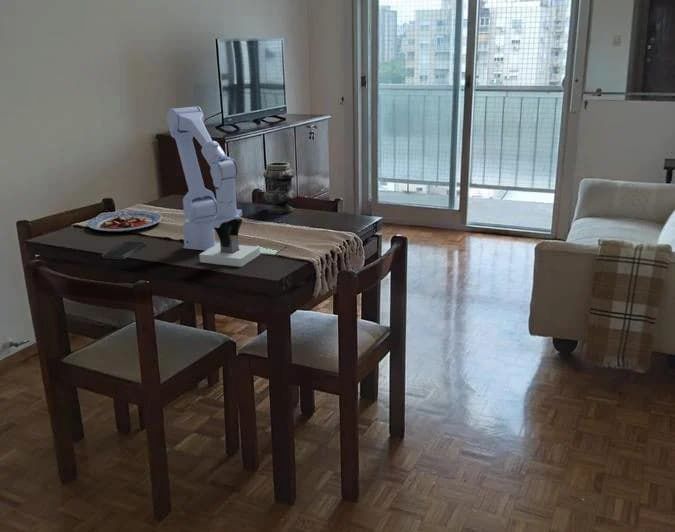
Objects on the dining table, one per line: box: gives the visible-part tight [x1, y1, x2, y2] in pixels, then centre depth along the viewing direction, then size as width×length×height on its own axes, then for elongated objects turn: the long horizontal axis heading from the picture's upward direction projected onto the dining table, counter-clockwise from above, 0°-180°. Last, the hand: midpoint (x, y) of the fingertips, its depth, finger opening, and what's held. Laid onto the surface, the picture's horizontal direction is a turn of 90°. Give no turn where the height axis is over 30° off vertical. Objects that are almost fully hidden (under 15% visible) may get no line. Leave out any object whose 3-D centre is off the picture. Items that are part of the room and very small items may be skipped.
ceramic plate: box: [86, 210, 163, 233], centre depth 250 cm, size 26×26×3 cm
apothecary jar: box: [262, 161, 296, 214], centre depth 264 cm, size 12×12×18 cm
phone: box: [101, 241, 147, 260], centre depth 221 cm, size 8×1×15 cm
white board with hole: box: [199, 243, 261, 268], centre depth 212 cm, size 14×12×2 cm
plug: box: [219, 235, 240, 254], centre depth 211 cm, size 4×4×7 cm
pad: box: [255, 245, 281, 256], centre depth 220 cm, size 9×9×1 cm
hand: (229, 244), depth 211 cm, fingers closed on plug, 4 cm apart
